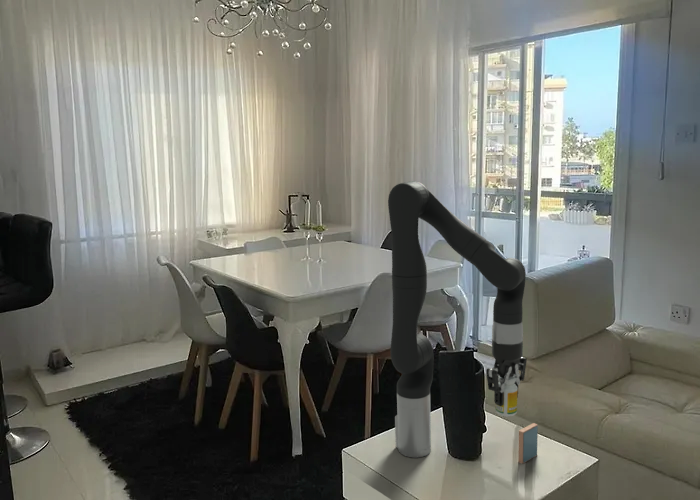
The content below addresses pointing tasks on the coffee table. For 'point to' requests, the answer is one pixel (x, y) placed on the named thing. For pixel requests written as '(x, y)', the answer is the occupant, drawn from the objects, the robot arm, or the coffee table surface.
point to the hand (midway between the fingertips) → (506, 401)
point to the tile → (527, 443)
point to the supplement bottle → (508, 398)
